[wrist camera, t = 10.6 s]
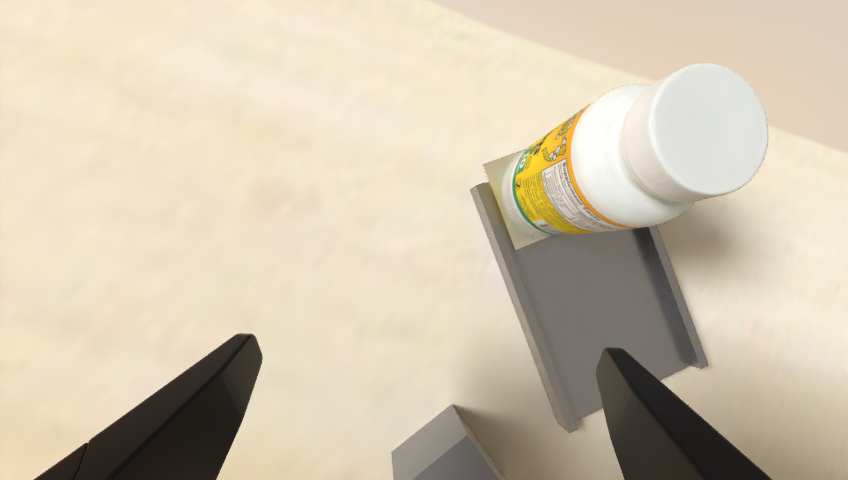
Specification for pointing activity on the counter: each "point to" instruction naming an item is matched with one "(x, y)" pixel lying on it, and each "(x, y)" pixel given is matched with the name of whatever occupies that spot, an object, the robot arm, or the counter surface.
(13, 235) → the counter surface
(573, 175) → the supplement bottle
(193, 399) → the robot arm
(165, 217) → the counter surface
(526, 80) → the counter surface
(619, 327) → the grey flat tray
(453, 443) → the block
